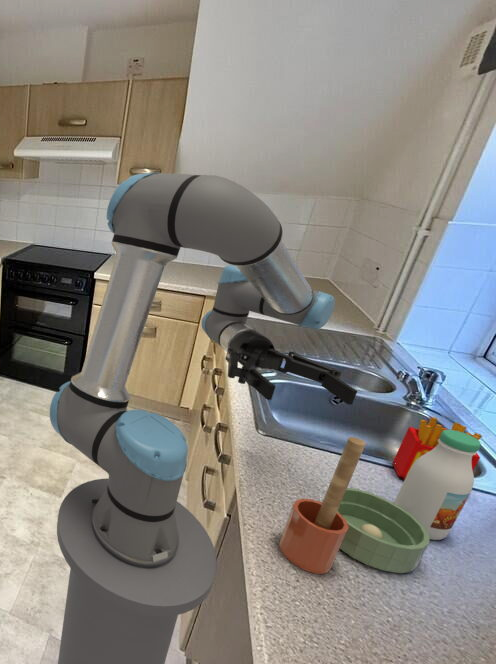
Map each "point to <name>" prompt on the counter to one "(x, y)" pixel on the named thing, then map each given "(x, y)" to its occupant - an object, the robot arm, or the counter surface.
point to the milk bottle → (440, 483)
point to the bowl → (395, 525)
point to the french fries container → (423, 444)
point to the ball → (371, 530)
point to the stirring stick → (339, 482)
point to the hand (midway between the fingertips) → (311, 395)
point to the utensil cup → (311, 537)
